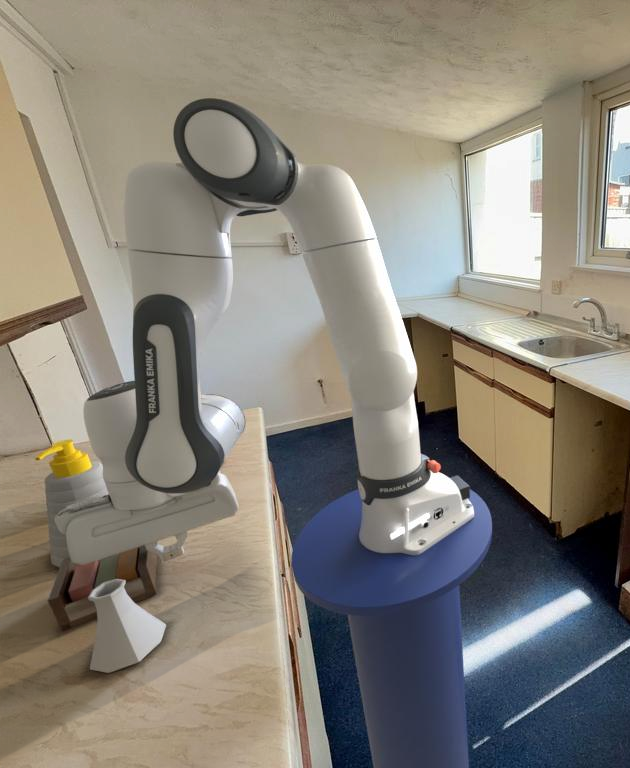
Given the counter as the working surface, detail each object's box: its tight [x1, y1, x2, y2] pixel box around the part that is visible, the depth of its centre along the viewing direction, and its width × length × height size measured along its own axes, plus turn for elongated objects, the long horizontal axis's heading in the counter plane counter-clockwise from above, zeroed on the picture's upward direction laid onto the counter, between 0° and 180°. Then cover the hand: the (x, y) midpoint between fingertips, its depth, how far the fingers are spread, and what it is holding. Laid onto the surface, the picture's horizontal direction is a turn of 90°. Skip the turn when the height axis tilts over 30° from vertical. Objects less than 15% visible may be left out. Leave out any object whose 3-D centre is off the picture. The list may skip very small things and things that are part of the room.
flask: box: [88, 579, 167, 674], centre depth 51 cm, size 7×7×10 cm
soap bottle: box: [34, 438, 109, 569], centre depth 68 cm, size 12×12×20 cm
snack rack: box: [47, 545, 159, 632], centre depth 61 cm, size 10×10×6 cm
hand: (172, 556), depth 65 cm, fingers closed
